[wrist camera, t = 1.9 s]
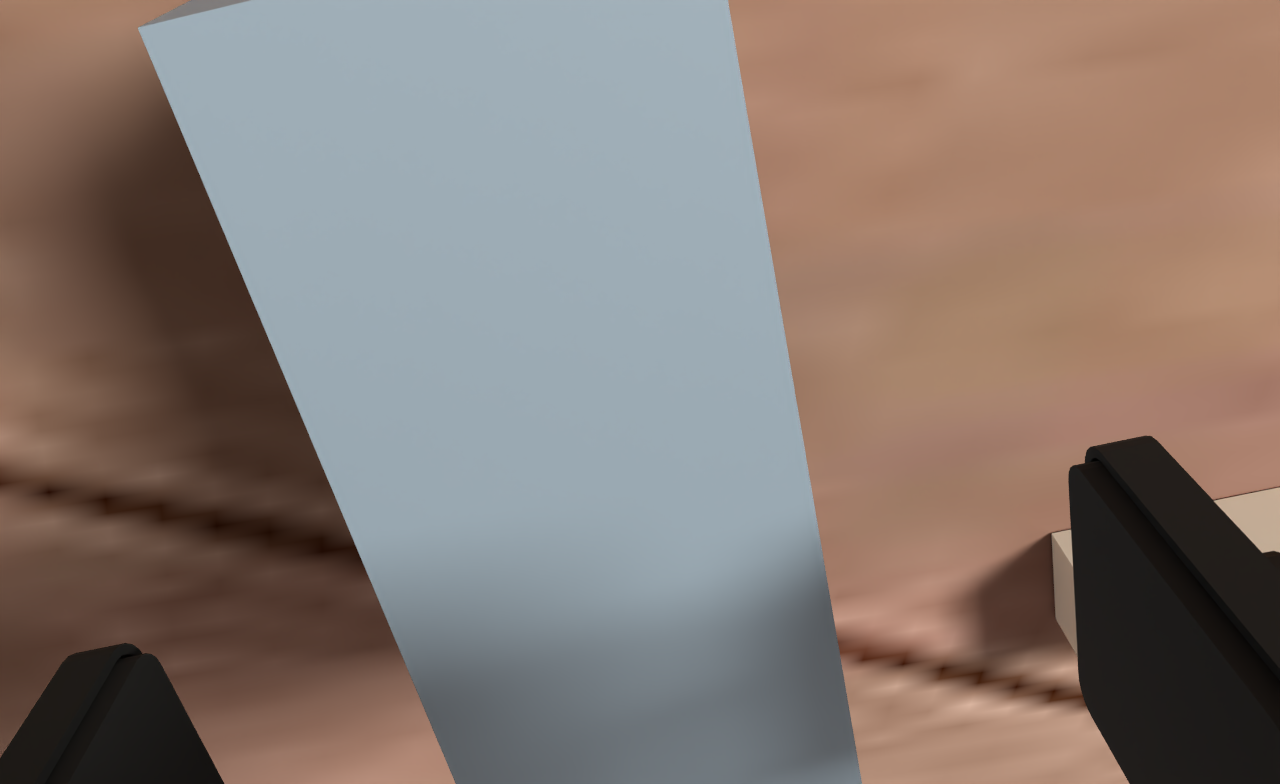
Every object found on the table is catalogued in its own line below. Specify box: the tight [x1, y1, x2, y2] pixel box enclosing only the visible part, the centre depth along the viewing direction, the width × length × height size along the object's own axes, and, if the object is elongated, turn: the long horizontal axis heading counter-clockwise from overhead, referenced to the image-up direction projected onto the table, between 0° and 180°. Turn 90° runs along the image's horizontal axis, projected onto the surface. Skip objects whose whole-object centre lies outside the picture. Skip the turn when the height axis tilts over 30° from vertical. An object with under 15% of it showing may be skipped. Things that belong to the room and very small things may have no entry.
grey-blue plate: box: [138, 0, 862, 784], centre depth 16 cm, size 12×4×10 cm, turn 12°
